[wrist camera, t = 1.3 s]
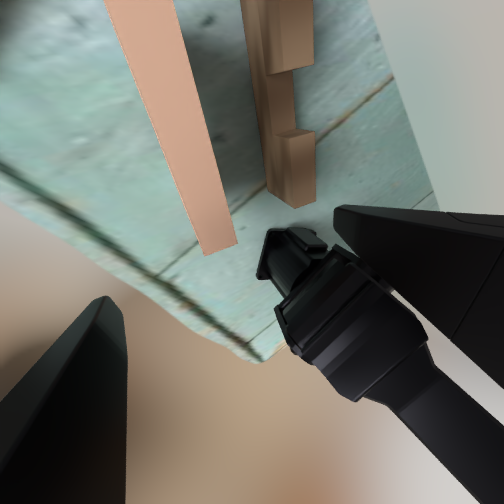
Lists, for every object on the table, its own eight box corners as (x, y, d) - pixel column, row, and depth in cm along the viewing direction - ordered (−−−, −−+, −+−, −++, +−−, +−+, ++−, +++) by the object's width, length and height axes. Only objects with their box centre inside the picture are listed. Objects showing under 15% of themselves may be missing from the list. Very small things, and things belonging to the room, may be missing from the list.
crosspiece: (204, 195, 20) (237, 243, 13) (182, 202, 20) (204, 256, 13) (148, 23, 13) (154, -68, 6) (113, 28, 13) (80, -63, 6)
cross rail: (285, 184, 22) (315, 201, 19) (267, 190, 22) (294, 208, 18) (265, -30, 14) (311, -81, 10) (236, -26, 14) (272, -79, 10)
